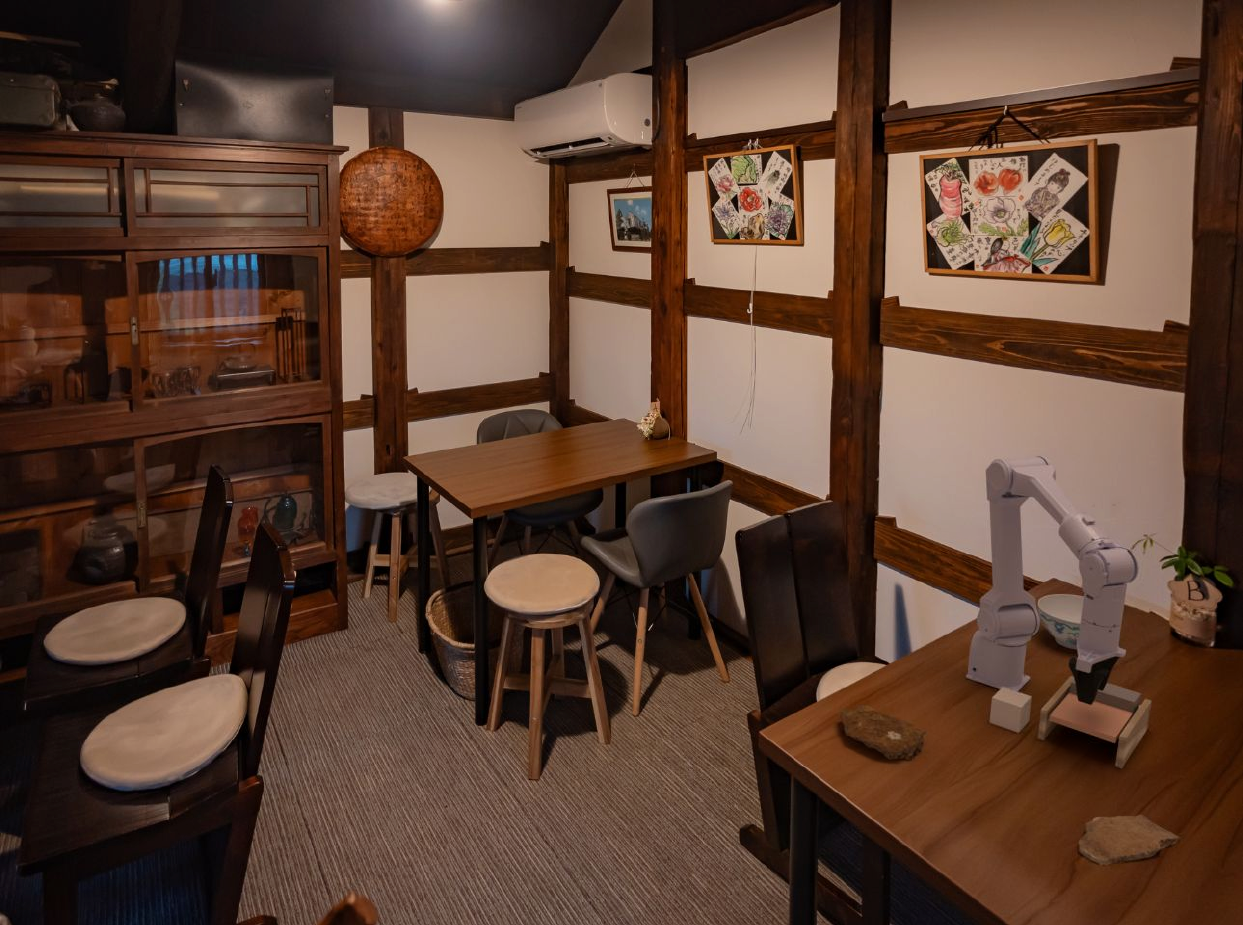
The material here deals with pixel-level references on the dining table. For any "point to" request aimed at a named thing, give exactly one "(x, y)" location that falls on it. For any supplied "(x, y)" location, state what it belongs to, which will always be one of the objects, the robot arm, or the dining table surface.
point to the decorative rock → (882, 732)
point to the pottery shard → (1123, 839)
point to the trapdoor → (1098, 712)
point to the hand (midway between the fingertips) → (1091, 695)
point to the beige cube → (1010, 709)
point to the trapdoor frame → (1126, 739)
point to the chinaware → (1062, 617)
